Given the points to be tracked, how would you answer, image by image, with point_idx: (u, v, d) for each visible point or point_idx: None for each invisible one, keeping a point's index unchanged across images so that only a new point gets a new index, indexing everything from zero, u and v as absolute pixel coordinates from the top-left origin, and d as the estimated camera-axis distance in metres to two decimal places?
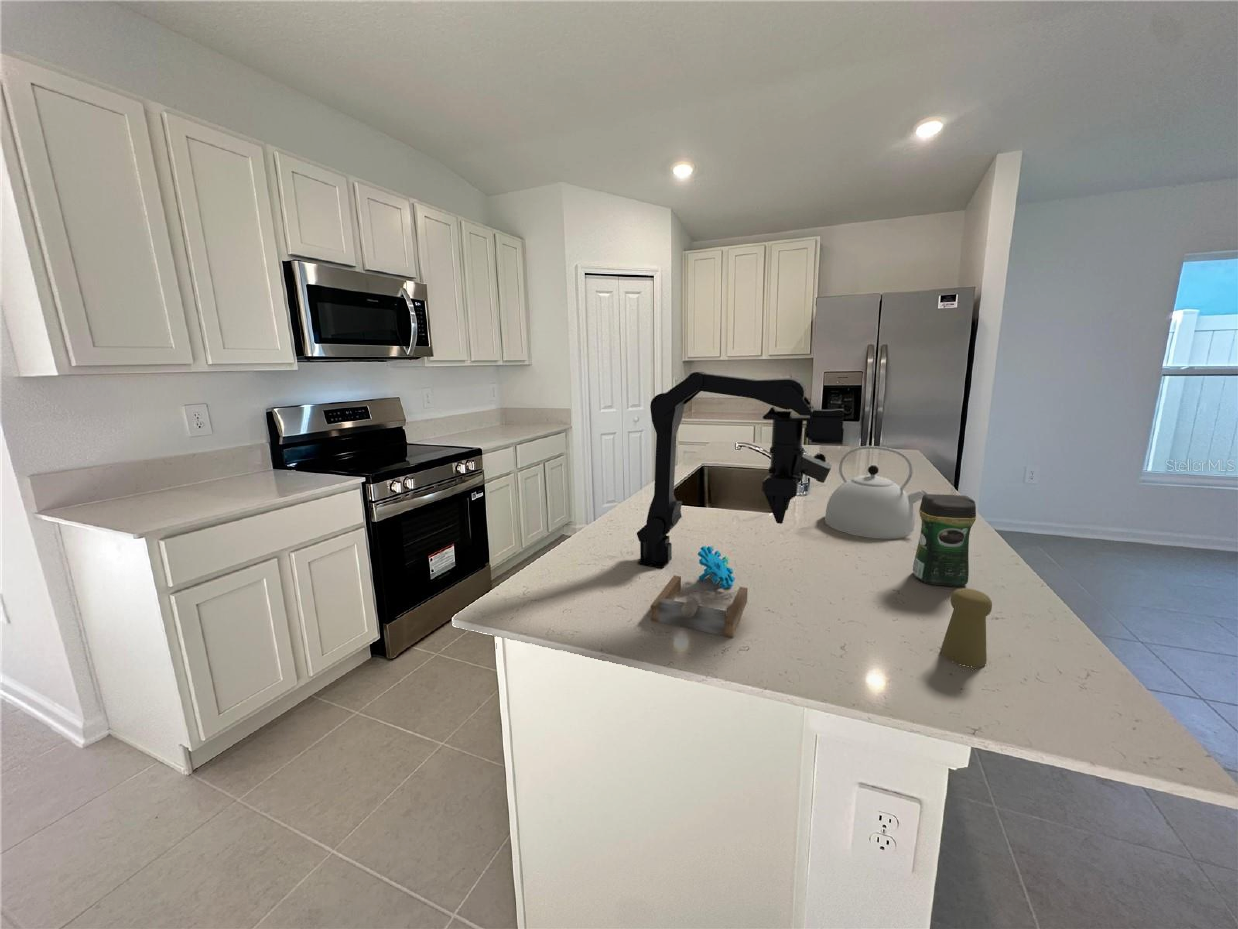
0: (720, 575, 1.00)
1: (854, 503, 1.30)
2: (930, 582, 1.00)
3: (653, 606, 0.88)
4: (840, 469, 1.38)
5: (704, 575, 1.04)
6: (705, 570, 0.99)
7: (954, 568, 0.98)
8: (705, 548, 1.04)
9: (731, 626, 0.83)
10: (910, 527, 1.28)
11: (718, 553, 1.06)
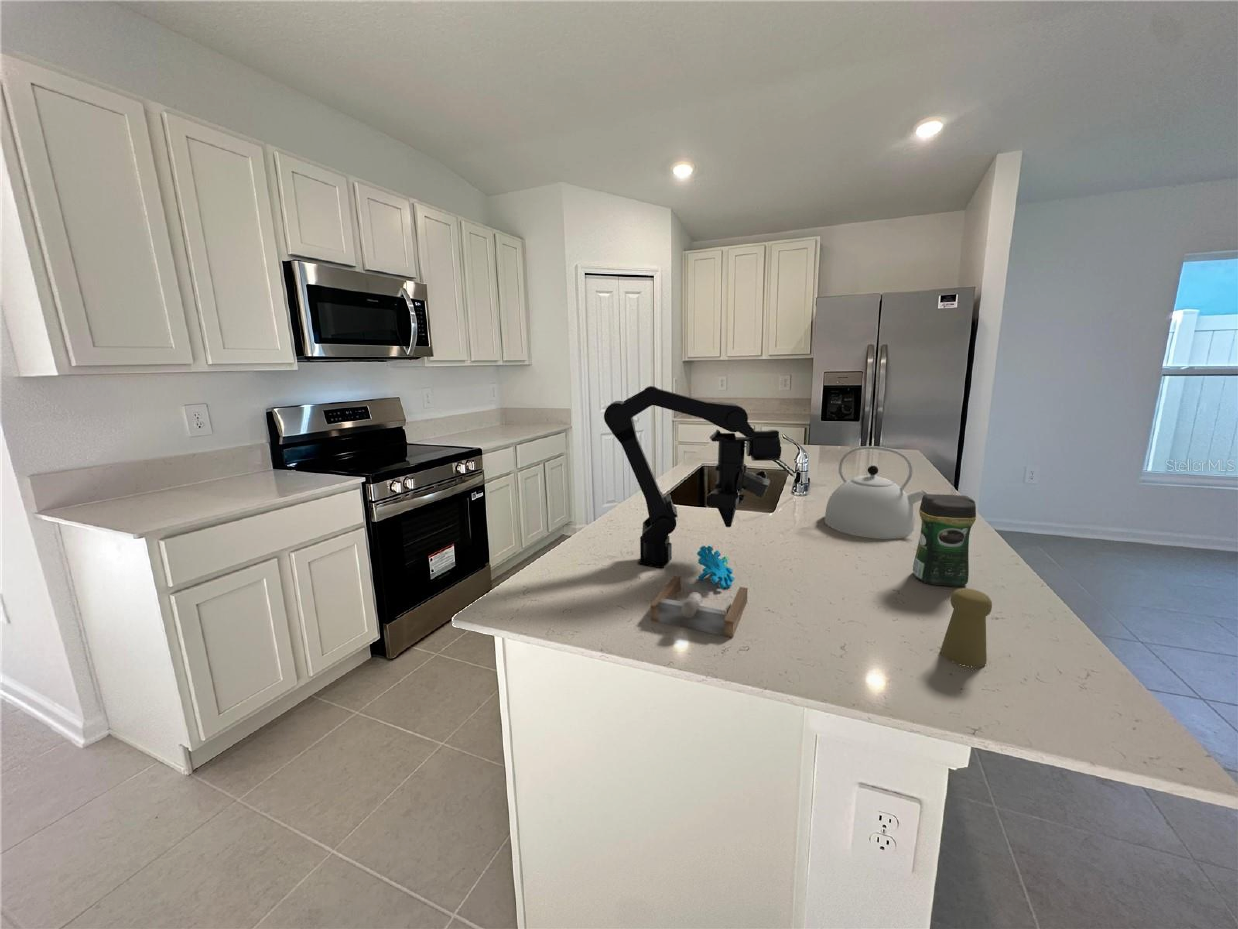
0: (719, 575, 1.01)
1: (853, 503, 1.30)
2: (930, 582, 1.00)
3: (653, 606, 0.88)
4: (840, 469, 1.38)
5: (703, 575, 1.04)
6: (704, 570, 0.99)
7: (954, 568, 0.98)
8: (704, 548, 1.04)
9: (731, 626, 0.83)
10: (910, 527, 1.28)
11: (718, 553, 1.06)
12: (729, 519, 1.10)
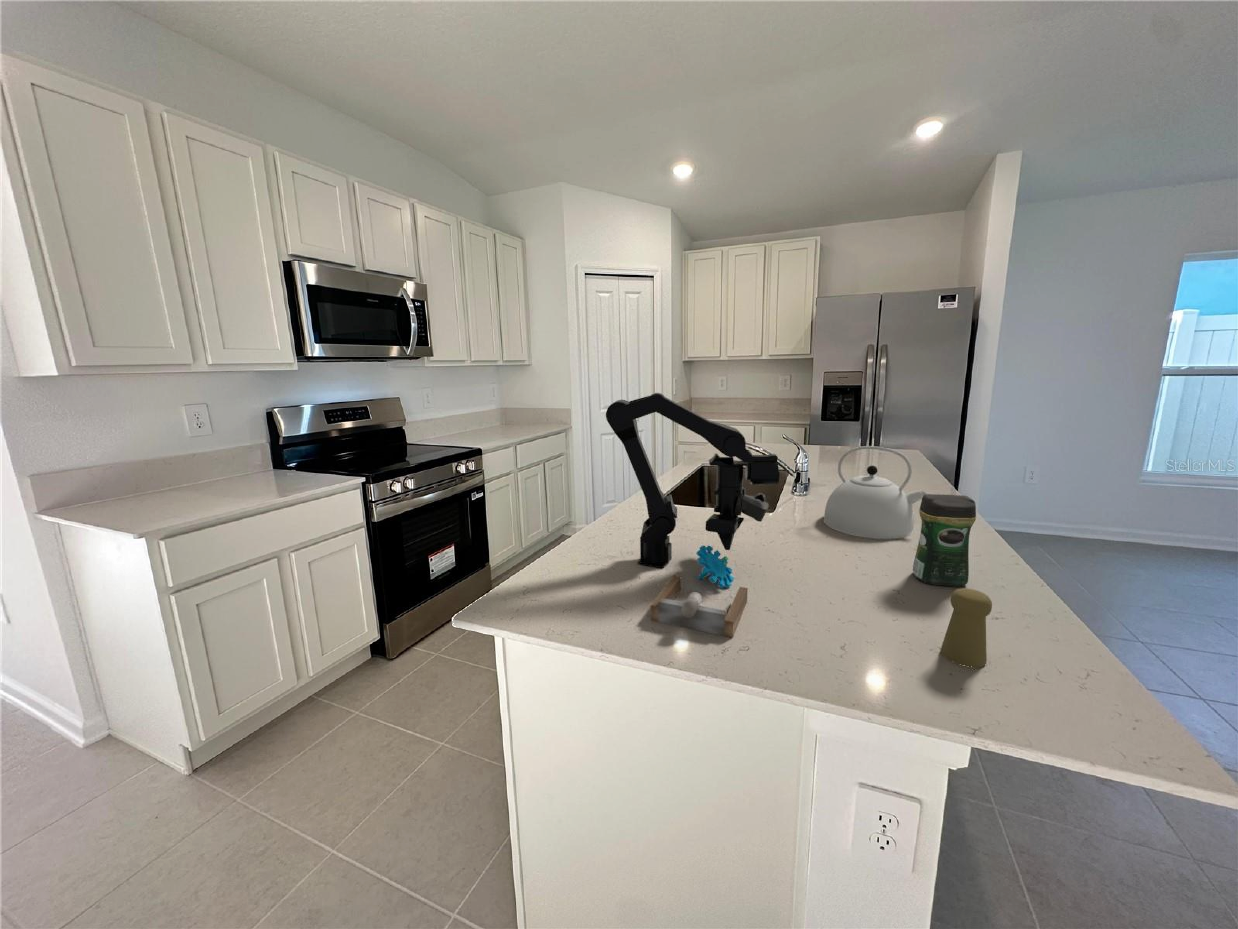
0: (718, 575, 1.01)
1: (852, 503, 1.30)
2: (930, 582, 1.00)
3: (653, 606, 0.88)
4: (839, 469, 1.38)
5: (703, 574, 1.04)
6: (703, 569, 0.99)
7: (954, 568, 0.98)
8: (704, 547, 1.04)
9: (731, 626, 0.83)
10: (909, 527, 1.28)
11: (717, 553, 1.06)
12: (728, 542, 1.11)
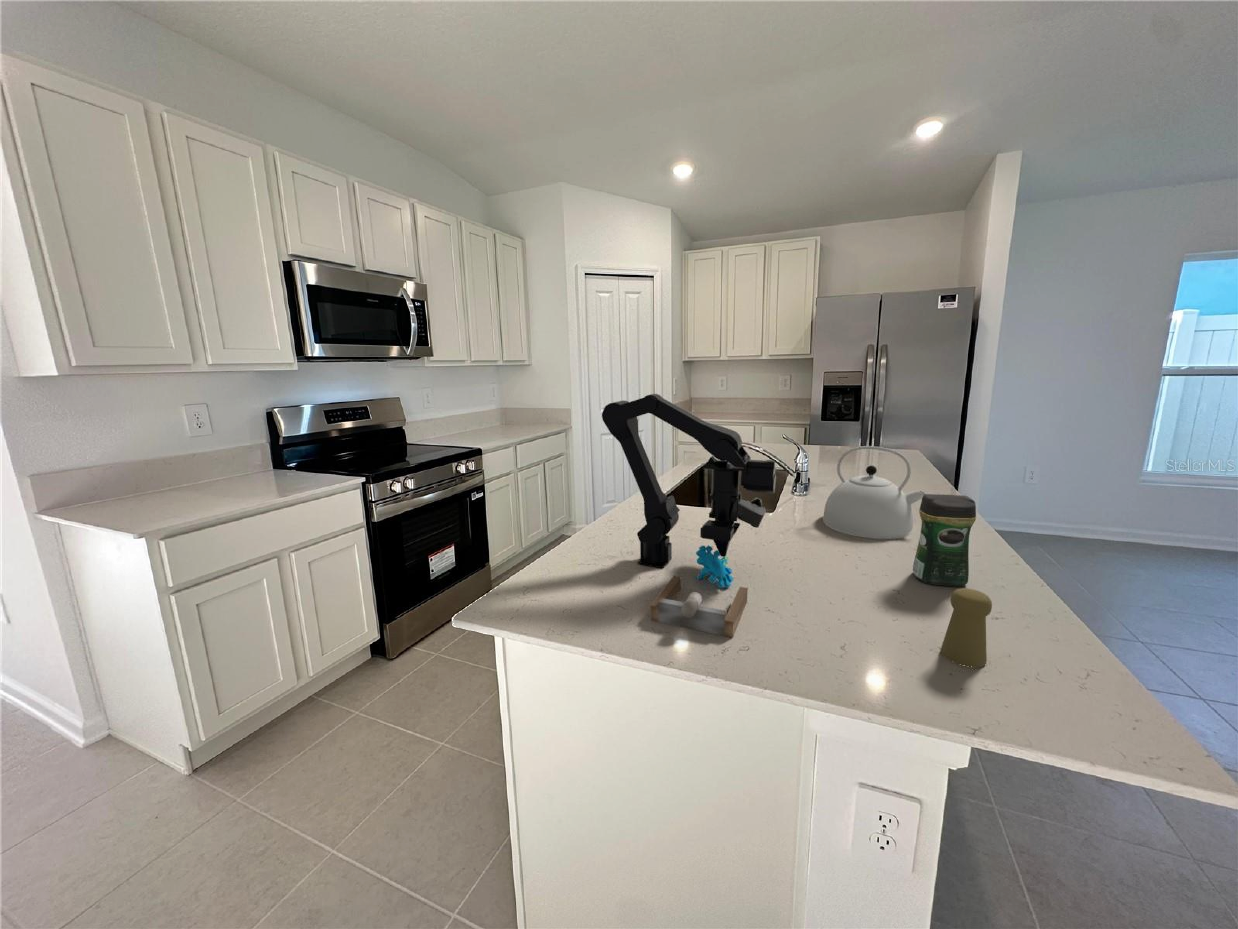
0: (718, 575, 1.00)
1: (851, 503, 1.30)
2: (930, 582, 1.00)
3: (653, 606, 0.88)
4: (838, 469, 1.38)
5: (702, 574, 1.04)
6: (702, 569, 0.99)
7: (954, 568, 0.98)
8: (704, 547, 1.04)
9: (731, 626, 0.83)
10: (908, 527, 1.28)
11: (717, 553, 1.06)
12: (724, 549, 1.07)
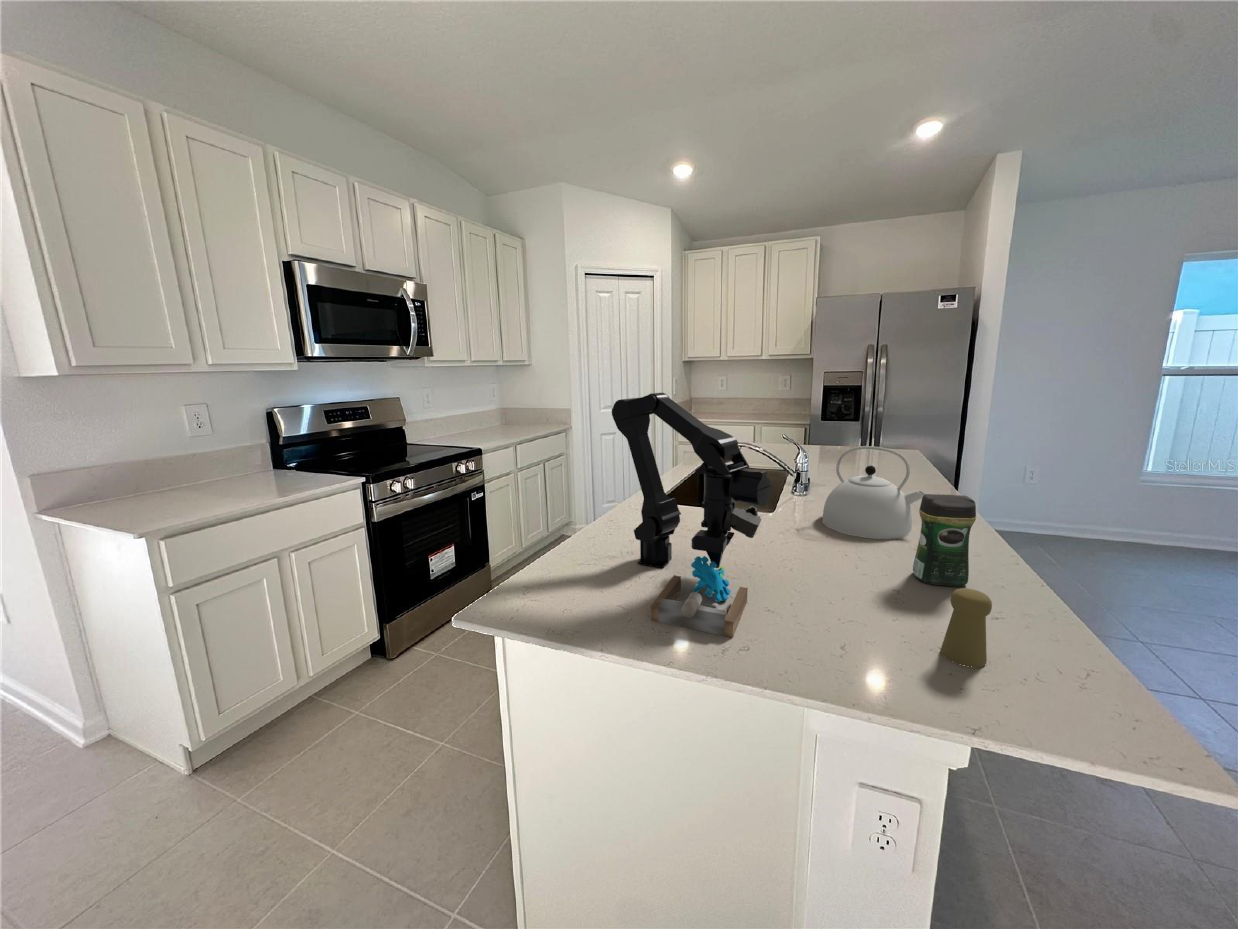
0: (714, 588, 0.95)
1: (850, 503, 1.30)
2: (930, 582, 1.00)
3: (653, 606, 0.88)
4: (837, 469, 1.38)
5: (698, 587, 0.98)
6: (698, 582, 0.93)
7: (954, 568, 0.98)
8: (699, 558, 0.98)
9: (731, 626, 0.83)
10: (907, 527, 1.28)
11: (713, 564, 1.00)
12: (717, 560, 1.01)
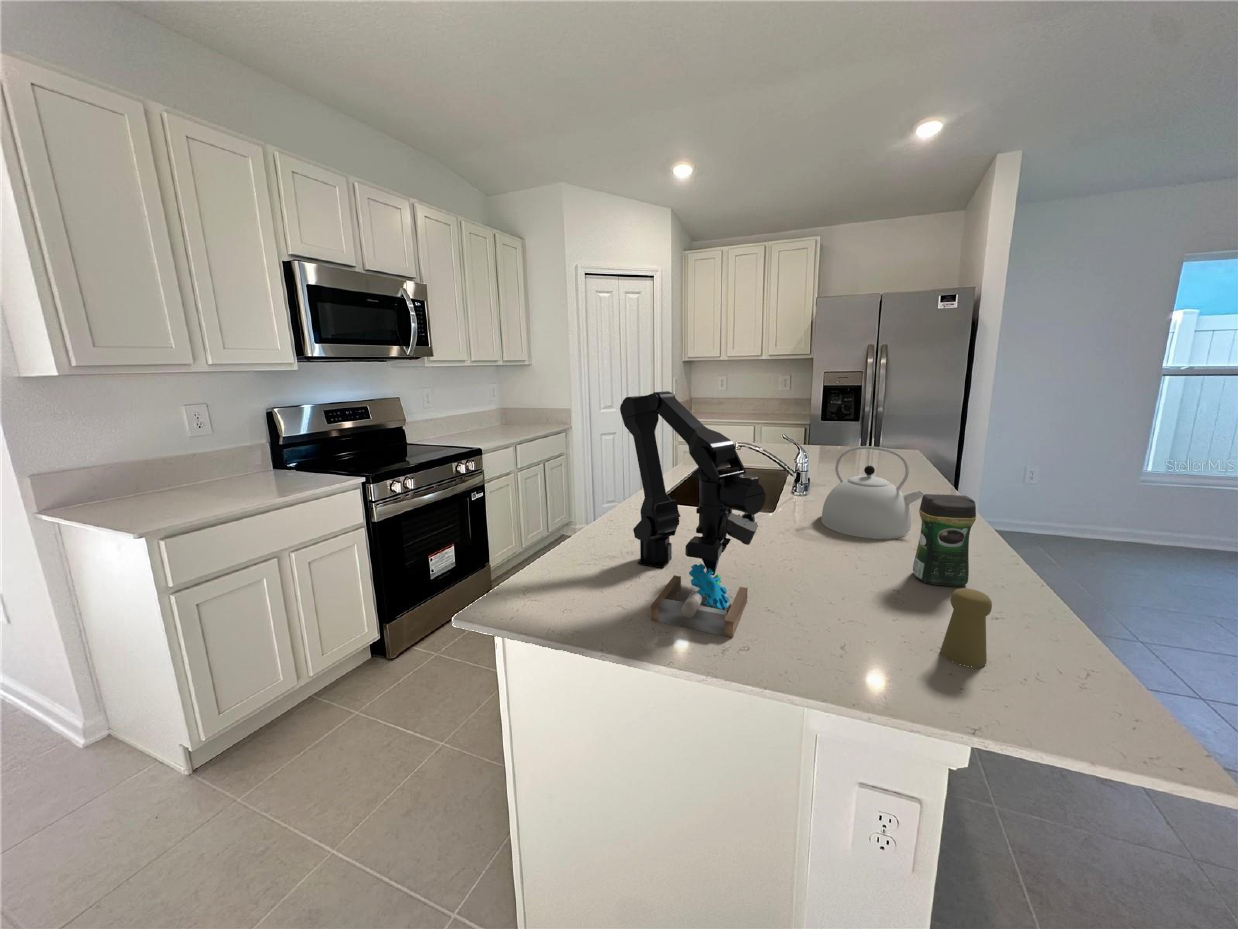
0: (714, 596, 0.91)
1: (849, 503, 1.30)
2: (930, 582, 1.00)
3: (653, 606, 0.88)
4: (836, 469, 1.38)
5: None
6: (698, 592, 0.90)
7: (954, 568, 0.98)
8: (696, 566, 0.95)
9: (731, 626, 0.83)
10: (906, 527, 1.28)
11: (710, 571, 0.97)
12: (712, 567, 0.98)
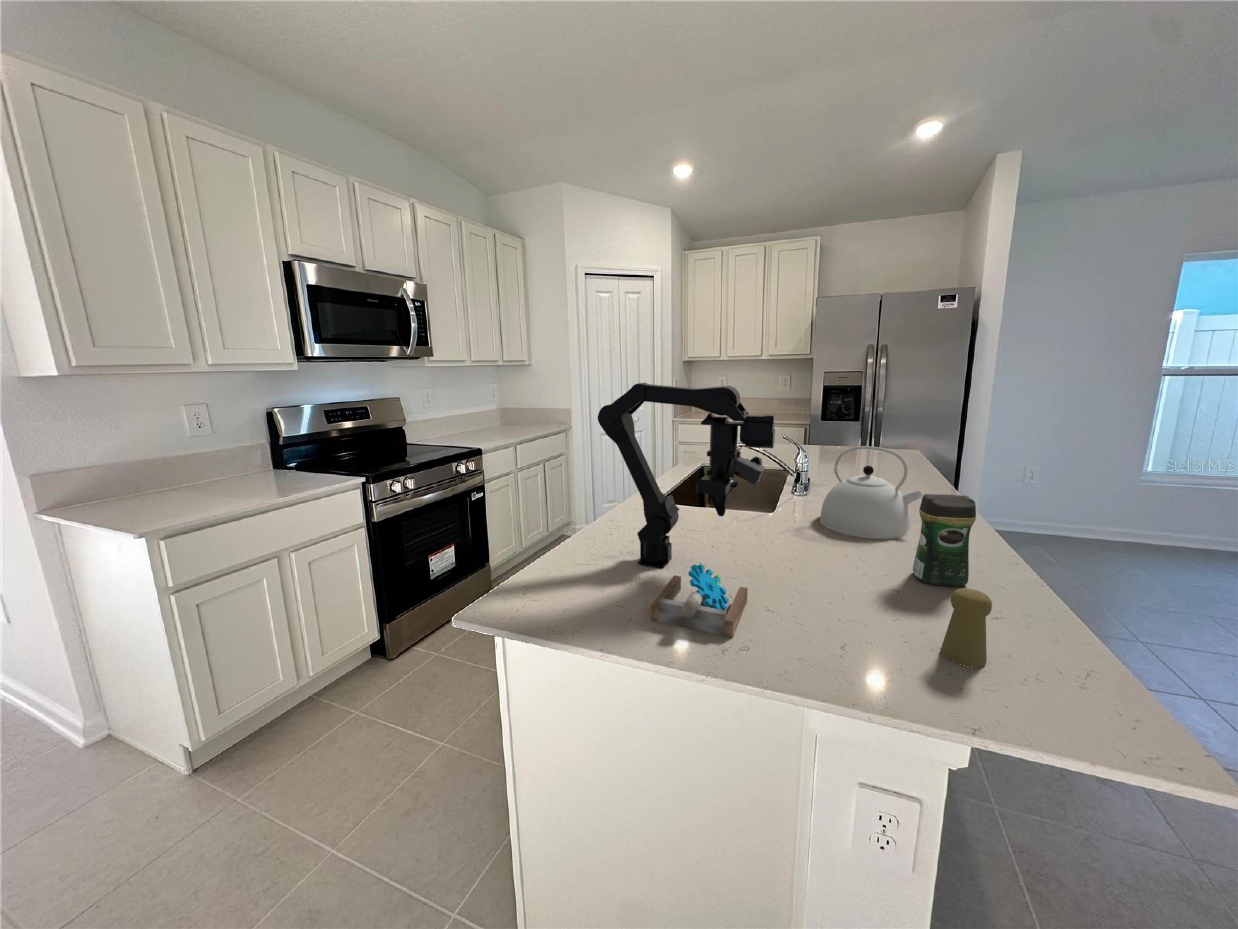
0: (713, 597, 0.91)
1: (848, 503, 1.30)
2: (930, 582, 1.00)
3: (653, 606, 0.88)
4: (835, 469, 1.38)
5: None
6: (697, 592, 0.90)
7: (954, 568, 0.98)
8: (696, 567, 0.95)
9: (731, 626, 0.83)
10: (904, 527, 1.28)
11: (710, 571, 0.97)
12: (721, 507, 1.05)
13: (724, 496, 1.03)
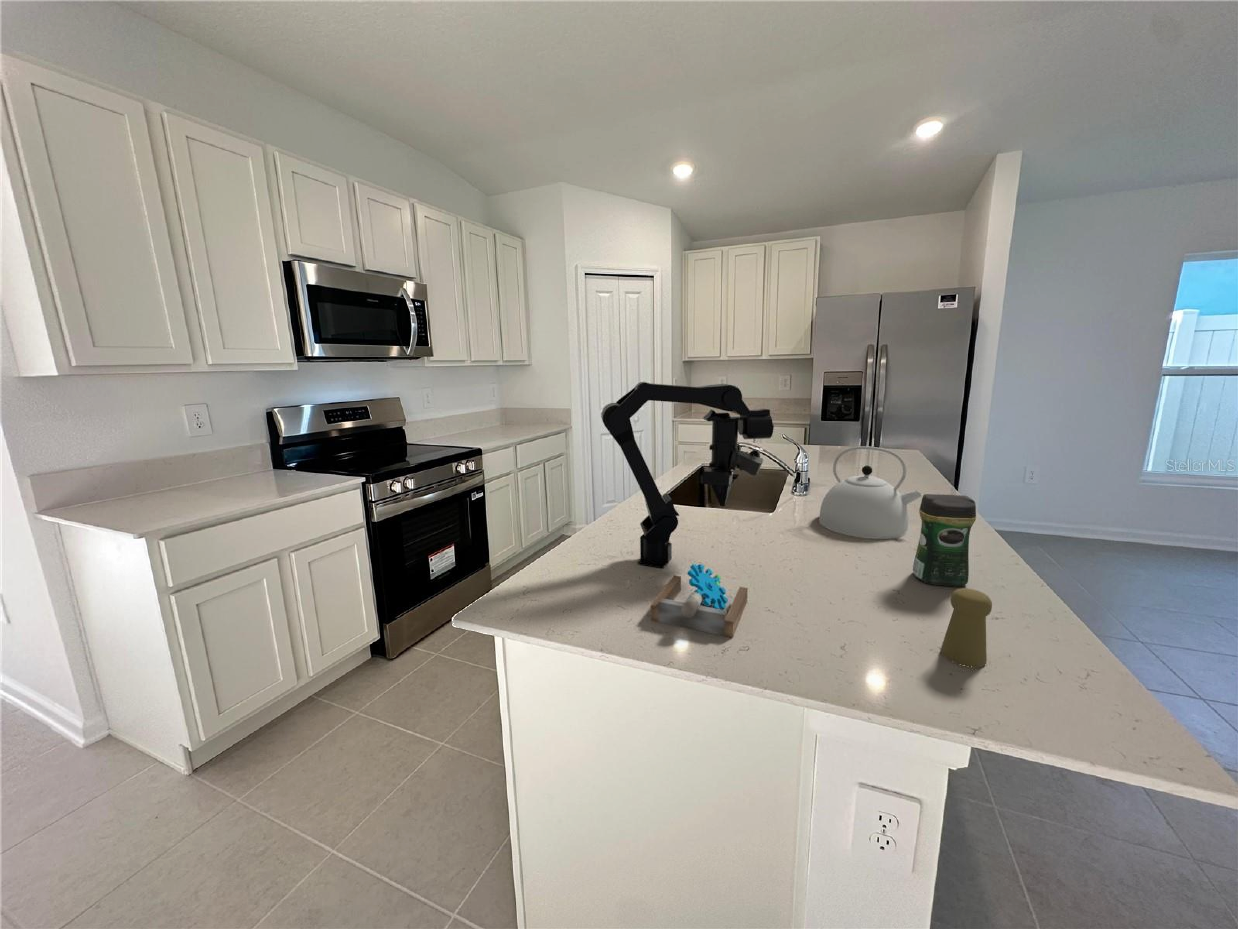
0: (712, 596, 0.91)
1: (846, 503, 1.30)
2: (930, 582, 1.00)
3: (653, 606, 0.88)
4: (834, 469, 1.38)
5: None
6: None
7: (954, 568, 0.98)
8: (695, 566, 0.95)
9: (731, 626, 0.83)
10: (903, 527, 1.28)
11: (709, 571, 0.97)
12: (723, 498, 1.12)
13: (726, 487, 1.10)
